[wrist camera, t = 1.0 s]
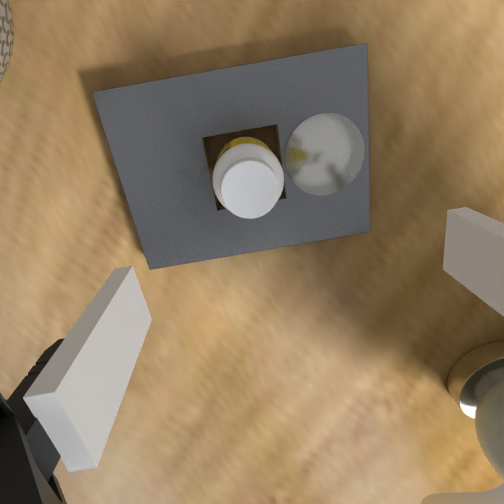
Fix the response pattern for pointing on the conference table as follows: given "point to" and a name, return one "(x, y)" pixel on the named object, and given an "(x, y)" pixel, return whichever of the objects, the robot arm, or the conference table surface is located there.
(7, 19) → the planter
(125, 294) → the robot arm
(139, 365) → the conference table surface
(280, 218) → the housing plate
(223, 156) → the supplement bottle
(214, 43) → the conference table surface
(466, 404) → the lamp
